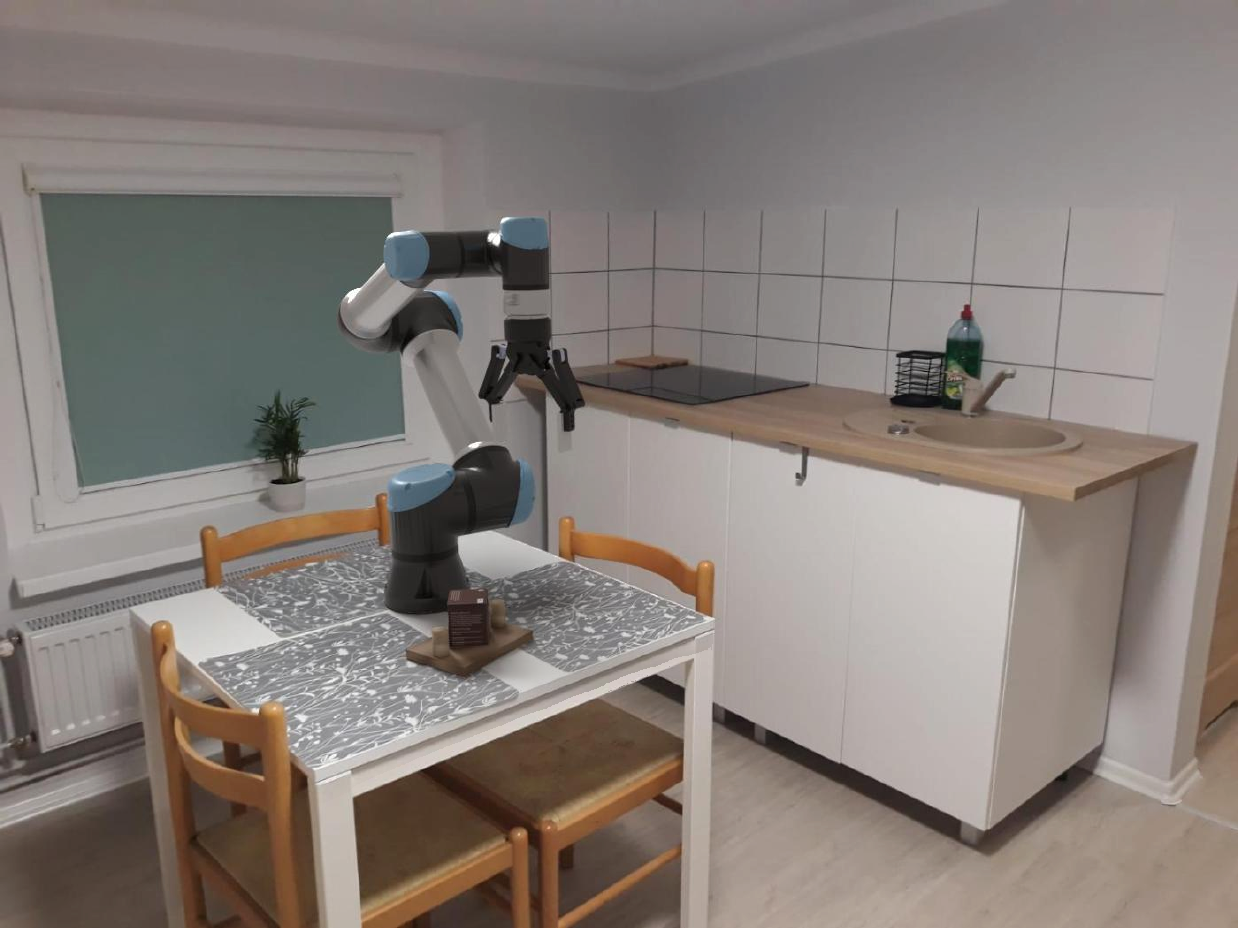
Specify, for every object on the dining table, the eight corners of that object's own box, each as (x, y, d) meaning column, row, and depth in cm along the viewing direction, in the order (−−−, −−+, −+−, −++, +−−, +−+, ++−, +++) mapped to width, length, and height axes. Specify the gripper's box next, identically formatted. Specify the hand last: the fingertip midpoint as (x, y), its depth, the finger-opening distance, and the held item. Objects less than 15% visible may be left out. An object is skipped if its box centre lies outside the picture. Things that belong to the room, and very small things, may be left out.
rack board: (406, 658, 150) (403, 624, 149) (476, 623, 163) (474, 592, 162) (464, 676, 144) (463, 642, 142) (533, 638, 156) (532, 606, 155)
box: (452, 632, 156) (449, 589, 154) (490, 631, 156) (488, 587, 154) (448, 648, 150) (446, 603, 148) (488, 647, 150) (486, 602, 148)
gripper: (453, 315, 160) (459, 442, 165) (576, 321, 147) (579, 459, 152) (483, 311, 166) (489, 434, 171) (605, 317, 153) (607, 450, 158)
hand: (531, 446), depth 162 cm, fingers open, 13 cm apart
